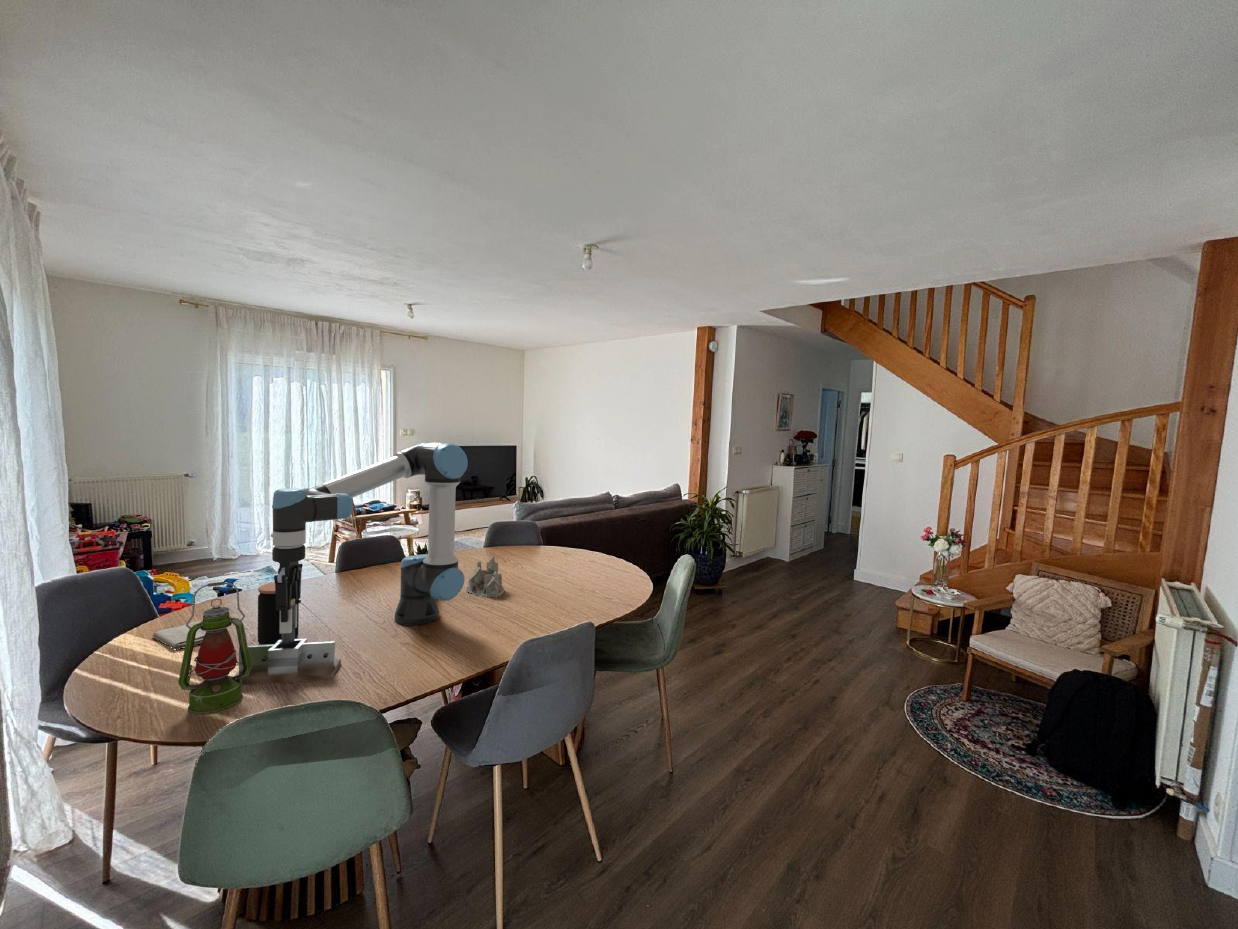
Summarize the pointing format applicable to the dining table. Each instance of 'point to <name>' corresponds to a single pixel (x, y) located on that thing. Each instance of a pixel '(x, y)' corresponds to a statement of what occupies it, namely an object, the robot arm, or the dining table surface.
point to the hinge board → (301, 676)
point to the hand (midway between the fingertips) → (288, 630)
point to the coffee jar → (270, 616)
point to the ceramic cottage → (486, 580)
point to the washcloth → (178, 636)
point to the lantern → (214, 661)
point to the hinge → (290, 657)
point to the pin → (289, 638)
